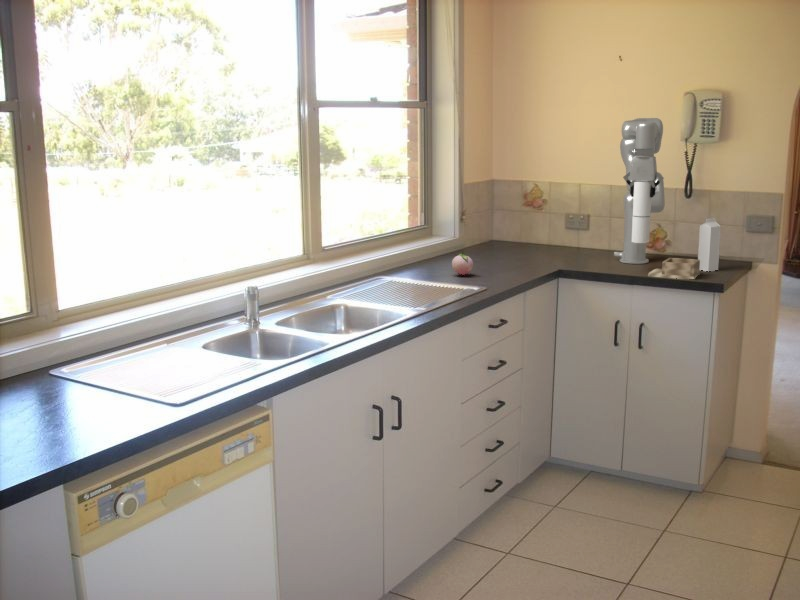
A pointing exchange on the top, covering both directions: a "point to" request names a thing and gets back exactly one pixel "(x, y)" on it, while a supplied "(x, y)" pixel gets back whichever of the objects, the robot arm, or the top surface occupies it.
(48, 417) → the top surface
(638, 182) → the cylindrical container
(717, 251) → the milk
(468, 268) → the decorative fruit
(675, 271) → the board
